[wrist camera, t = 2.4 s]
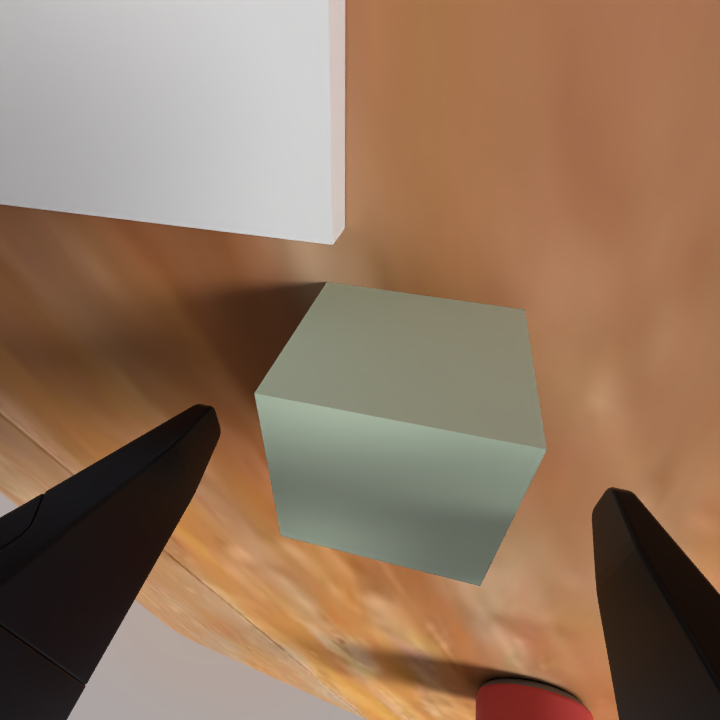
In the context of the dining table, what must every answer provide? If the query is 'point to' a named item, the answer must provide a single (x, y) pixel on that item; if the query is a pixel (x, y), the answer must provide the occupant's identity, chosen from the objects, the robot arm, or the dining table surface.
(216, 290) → the dining table surface
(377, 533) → the green block
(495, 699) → the beer can
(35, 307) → the dining table surface
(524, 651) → the dining table surface
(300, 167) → the build plate
